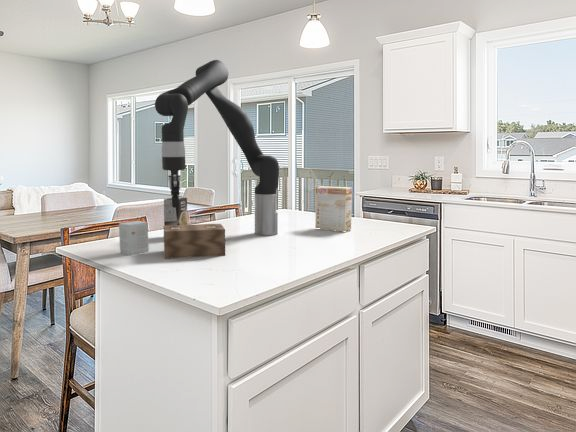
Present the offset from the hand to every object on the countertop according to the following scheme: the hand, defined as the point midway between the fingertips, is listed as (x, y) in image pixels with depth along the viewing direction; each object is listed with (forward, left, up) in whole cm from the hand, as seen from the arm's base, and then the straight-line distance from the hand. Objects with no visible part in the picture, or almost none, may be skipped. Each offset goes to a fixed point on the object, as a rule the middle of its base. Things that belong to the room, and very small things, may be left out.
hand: (175, 207), depth 155 cm
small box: (+14, -6, -16) cm, 23 cm away
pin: (-12, 0, -15) cm, 19 cm away
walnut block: (-6, 0, -16) cm, 17 cm away
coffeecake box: (-70, -33, -16) cm, 79 cm away
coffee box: (-1, -30, -16) cm, 34 cm away
